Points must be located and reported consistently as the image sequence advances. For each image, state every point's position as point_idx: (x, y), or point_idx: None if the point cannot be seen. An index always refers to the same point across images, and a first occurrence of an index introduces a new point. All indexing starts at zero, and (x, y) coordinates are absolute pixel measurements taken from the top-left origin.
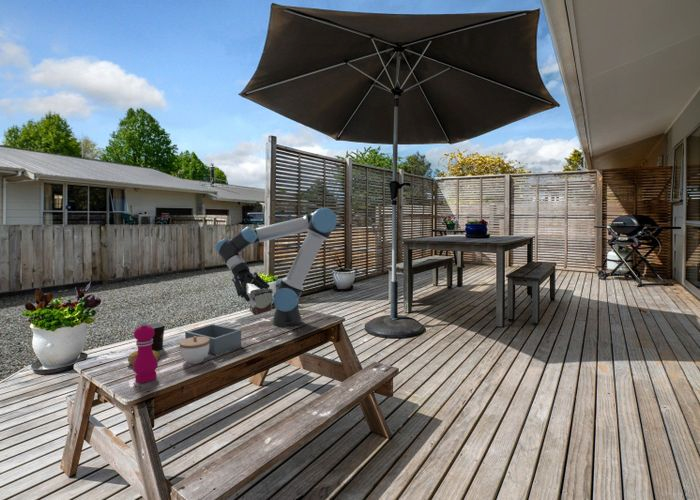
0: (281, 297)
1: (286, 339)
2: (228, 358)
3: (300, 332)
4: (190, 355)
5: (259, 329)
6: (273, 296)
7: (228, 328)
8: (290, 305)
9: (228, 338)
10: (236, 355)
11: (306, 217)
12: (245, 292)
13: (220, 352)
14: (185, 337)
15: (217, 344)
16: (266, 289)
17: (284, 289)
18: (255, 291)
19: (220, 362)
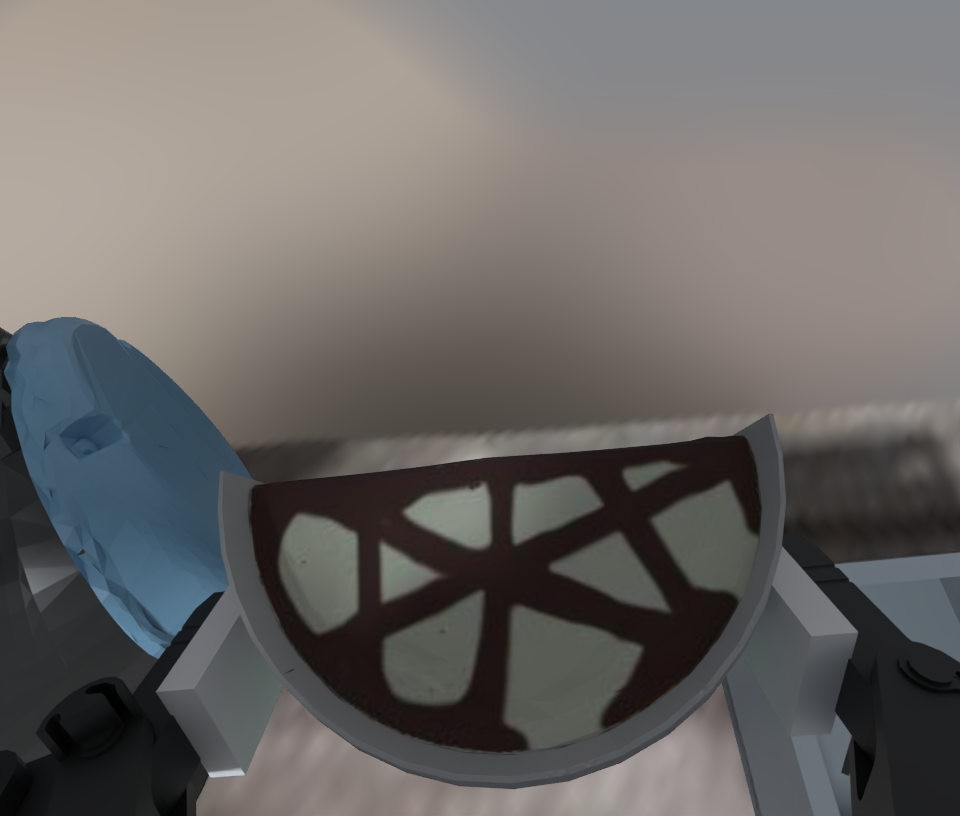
0: (189, 469)
1: (423, 441)
2: (866, 453)
3: (272, 472)
4: None
5: (353, 807)
6: (163, 638)
7: (814, 736)
8: (207, 426)
9: (869, 560)
10: (804, 457)
11: None
12: (931, 655)
13: (890, 557)
14: None
15: None
16: (255, 607)
17: (73, 381)
18: (496, 743)
19: (932, 437)
